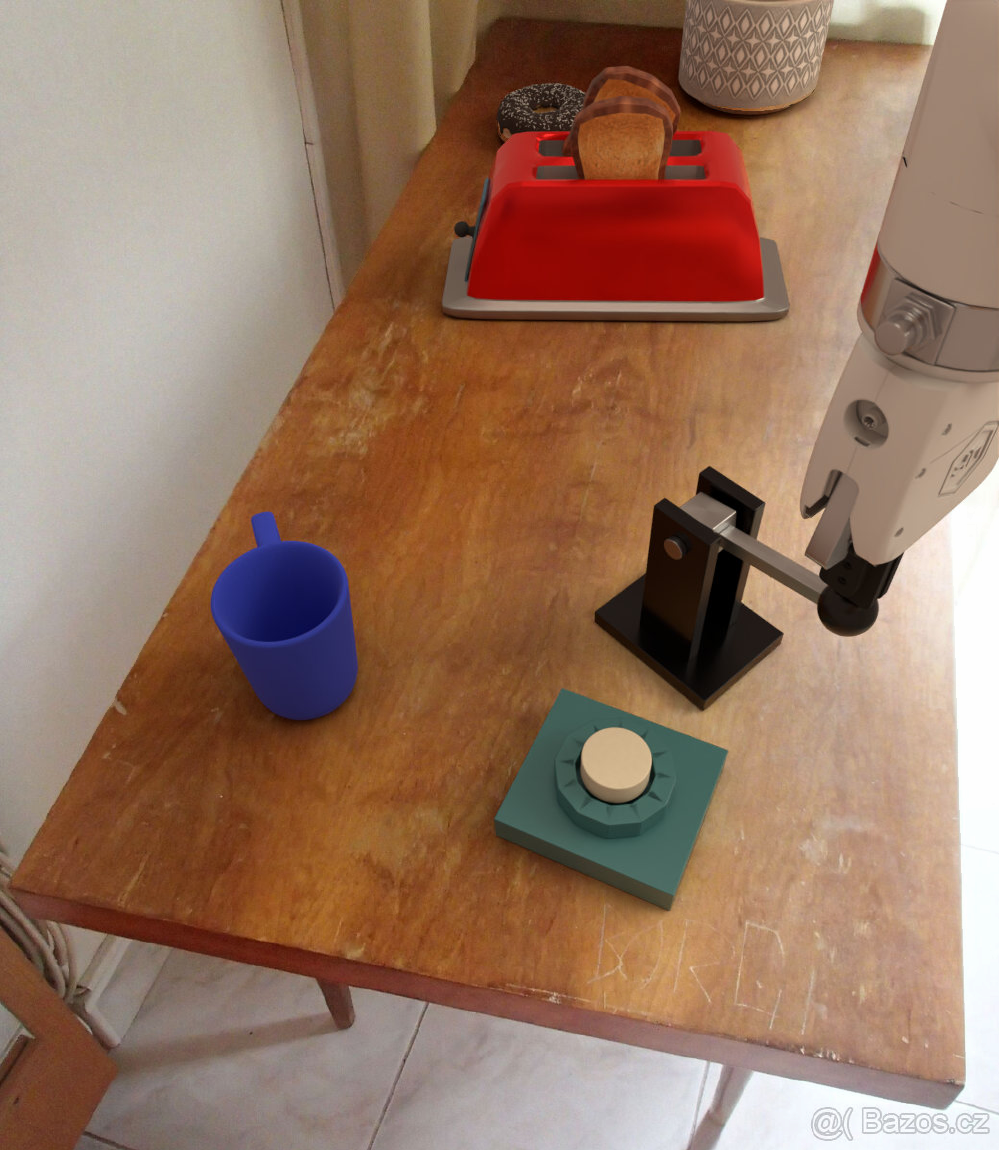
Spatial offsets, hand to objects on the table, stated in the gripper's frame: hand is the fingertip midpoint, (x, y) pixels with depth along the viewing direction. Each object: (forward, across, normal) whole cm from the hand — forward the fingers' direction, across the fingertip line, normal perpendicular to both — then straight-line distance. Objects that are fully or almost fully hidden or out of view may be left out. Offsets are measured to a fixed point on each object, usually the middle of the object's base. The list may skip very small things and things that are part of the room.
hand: (851, 586), depth 53 cm
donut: (+14, +42, +69) cm, 82 cm away
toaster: (+14, +26, +42) cm, 52 cm away
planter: (+14, +67, +60) cm, 91 cm away
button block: (+14, -13, +4) cm, 19 cm away
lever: (+4, 0, +4) cm, 6 cm away
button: (+10, -13, +4) cm, 17 cm away
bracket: (+14, 0, +10) cm, 17 cm away
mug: (+14, -21, +26) cm, 36 cm away
